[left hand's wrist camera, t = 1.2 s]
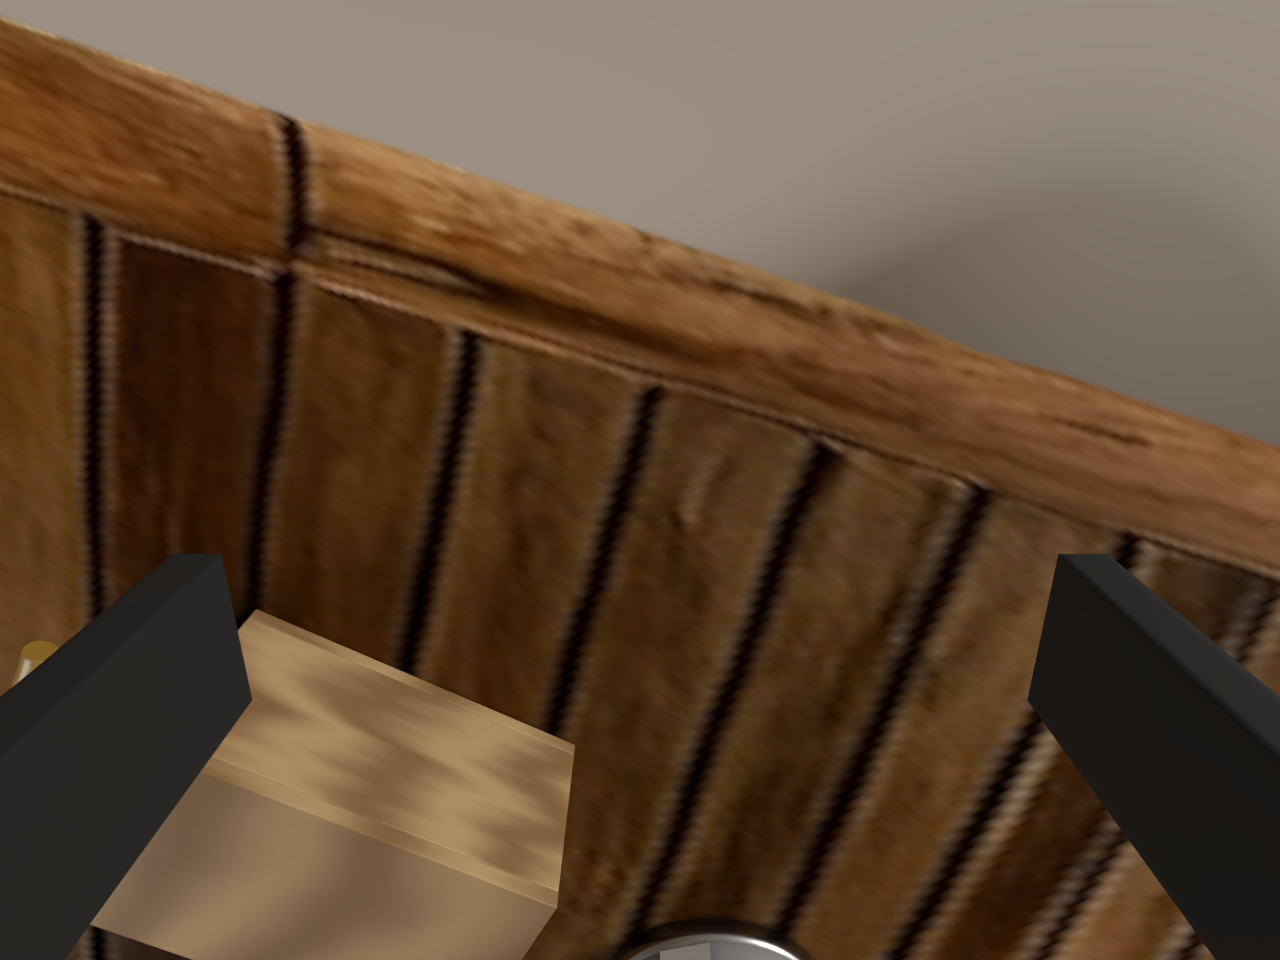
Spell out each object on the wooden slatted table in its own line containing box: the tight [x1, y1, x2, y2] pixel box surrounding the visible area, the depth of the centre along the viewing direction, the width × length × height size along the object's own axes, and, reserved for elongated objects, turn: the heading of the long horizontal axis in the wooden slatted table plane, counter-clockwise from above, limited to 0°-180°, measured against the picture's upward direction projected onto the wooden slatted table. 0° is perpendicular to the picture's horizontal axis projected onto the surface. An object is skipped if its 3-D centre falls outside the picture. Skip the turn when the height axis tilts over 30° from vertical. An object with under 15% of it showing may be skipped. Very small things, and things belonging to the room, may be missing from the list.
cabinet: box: [90, 609, 575, 960], centre depth 41 cm, size 19×11×11 cm, turn 62°
